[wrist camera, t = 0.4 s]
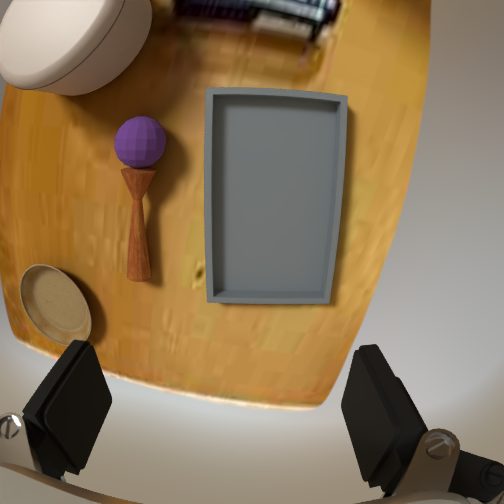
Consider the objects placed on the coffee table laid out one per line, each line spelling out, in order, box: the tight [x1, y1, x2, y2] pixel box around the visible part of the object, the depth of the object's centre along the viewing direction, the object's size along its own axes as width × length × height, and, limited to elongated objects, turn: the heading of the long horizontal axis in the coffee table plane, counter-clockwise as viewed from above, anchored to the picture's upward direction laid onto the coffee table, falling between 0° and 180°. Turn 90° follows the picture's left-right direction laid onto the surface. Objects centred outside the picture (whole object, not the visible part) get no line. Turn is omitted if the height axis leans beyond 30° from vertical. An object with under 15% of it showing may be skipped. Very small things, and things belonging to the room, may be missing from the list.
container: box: [0, 0, 152, 96], centre depth 22 cm, size 18×18×12 cm
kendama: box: [114, 116, 166, 282], centre depth 33 cm, size 6×6×20 cm
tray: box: [204, 87, 348, 304], centre depth 35 cm, size 26×16×3 cm, turn 179°
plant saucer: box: [20, 264, 91, 346], centre depth 40 cm, size 15×15×3 cm
